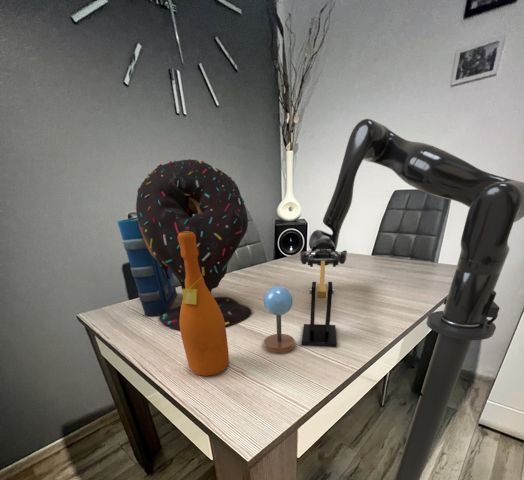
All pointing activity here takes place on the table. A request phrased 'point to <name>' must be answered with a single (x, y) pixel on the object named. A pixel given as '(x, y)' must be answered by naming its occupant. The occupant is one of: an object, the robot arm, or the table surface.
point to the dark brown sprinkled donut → (193, 225)
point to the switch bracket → (319, 332)
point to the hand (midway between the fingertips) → (323, 263)
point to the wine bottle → (200, 316)
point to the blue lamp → (278, 319)
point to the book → (147, 271)
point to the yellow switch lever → (322, 275)
